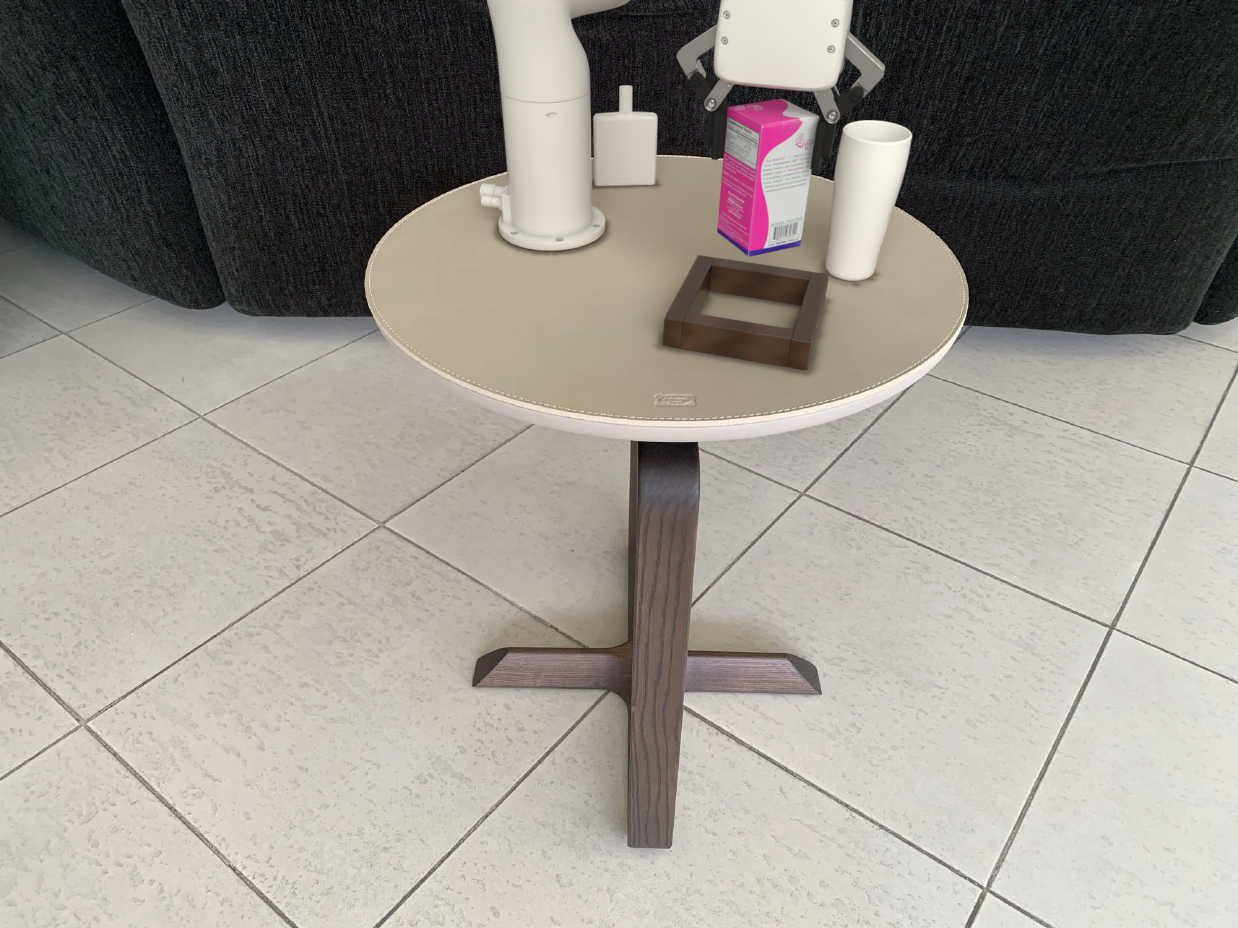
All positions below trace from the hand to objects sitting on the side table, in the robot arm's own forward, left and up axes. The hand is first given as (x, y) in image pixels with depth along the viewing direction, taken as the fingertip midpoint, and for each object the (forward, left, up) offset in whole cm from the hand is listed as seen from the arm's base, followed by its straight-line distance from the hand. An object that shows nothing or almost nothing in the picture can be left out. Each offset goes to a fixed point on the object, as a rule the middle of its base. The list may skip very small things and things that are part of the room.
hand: (767, 159), depth 72 cm
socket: (0, 0, -16) cm, 16 cm away
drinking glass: (+8, +14, -16) cm, 23 cm away
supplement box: (0, 0, -8) cm, 8 cm away
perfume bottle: (-22, +30, -16) cm, 41 cm away
